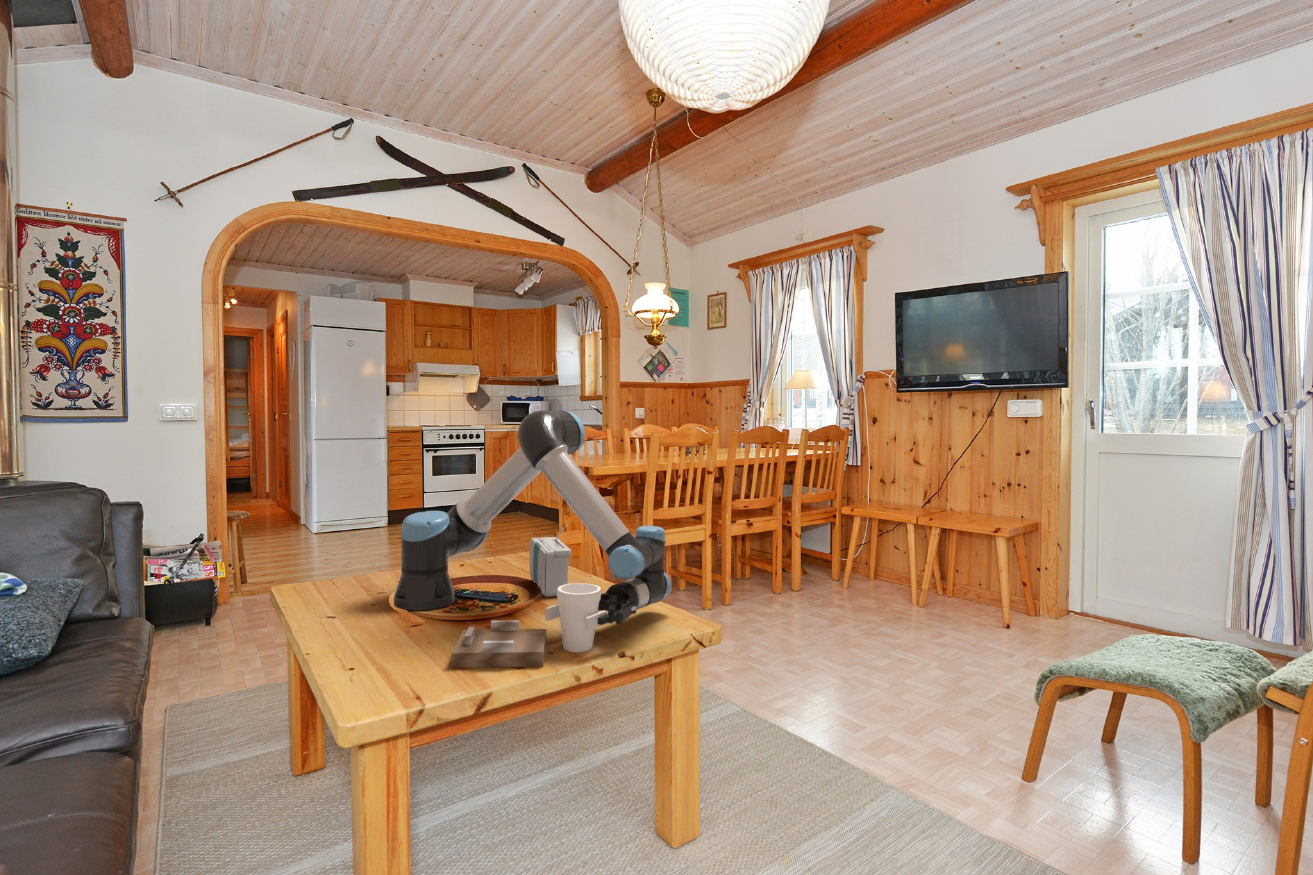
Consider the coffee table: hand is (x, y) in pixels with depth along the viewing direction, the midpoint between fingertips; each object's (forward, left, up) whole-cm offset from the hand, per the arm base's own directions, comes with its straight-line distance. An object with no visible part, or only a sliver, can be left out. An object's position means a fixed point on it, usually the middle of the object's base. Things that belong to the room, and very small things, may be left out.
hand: (566, 619), depth 146 cm
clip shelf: (-13, -1, -7) cm, 15 cm away
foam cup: (+3, +3, -7) cm, 8 cm away
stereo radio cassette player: (-5, +52, -7) cm, 53 cm away
